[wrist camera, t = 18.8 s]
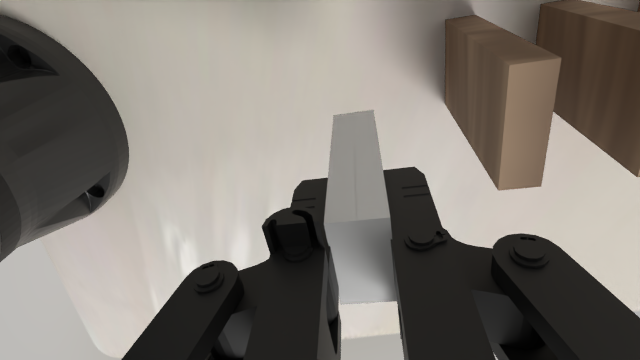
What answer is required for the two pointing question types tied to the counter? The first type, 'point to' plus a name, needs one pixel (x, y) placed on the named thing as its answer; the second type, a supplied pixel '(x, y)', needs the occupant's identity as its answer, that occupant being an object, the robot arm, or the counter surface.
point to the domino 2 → (597, 73)
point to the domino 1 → (501, 98)
